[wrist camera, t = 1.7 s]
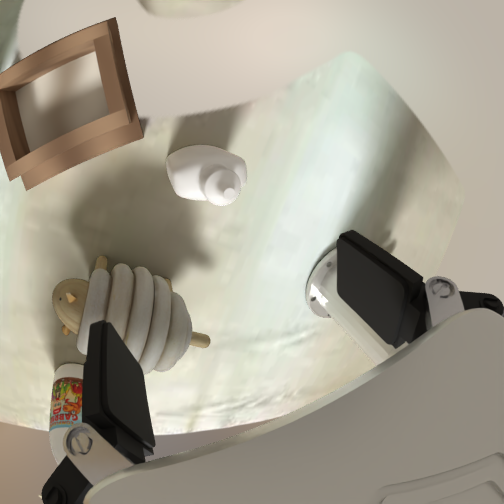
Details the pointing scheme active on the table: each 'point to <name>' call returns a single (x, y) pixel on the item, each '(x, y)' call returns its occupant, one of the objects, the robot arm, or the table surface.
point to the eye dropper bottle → (206, 174)
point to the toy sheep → (129, 313)
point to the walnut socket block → (66, 105)
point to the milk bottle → (65, 405)
